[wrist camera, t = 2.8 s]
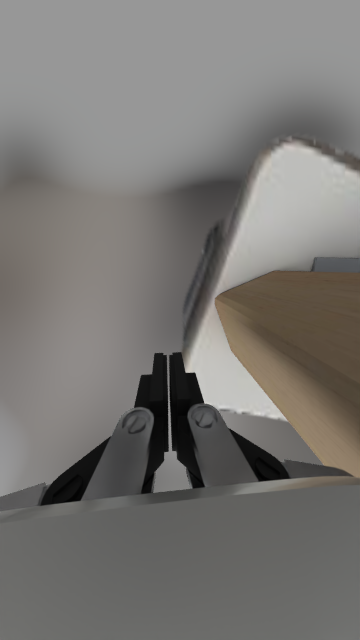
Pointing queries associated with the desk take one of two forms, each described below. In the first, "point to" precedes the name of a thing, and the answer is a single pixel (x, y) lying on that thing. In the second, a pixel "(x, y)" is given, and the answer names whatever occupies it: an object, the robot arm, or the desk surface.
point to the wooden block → (303, 353)
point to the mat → (336, 265)
